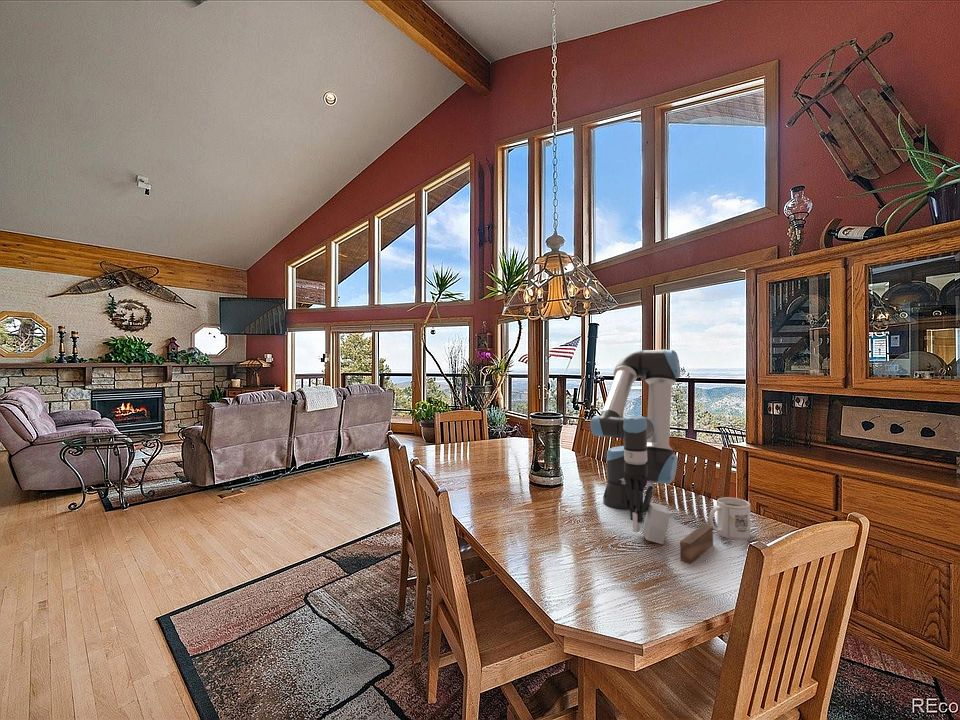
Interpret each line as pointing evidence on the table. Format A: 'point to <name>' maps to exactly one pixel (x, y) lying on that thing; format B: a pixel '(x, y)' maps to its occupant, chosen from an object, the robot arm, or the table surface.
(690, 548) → the board
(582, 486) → the table surface
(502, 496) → the table surface
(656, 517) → the small box
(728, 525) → the mug
